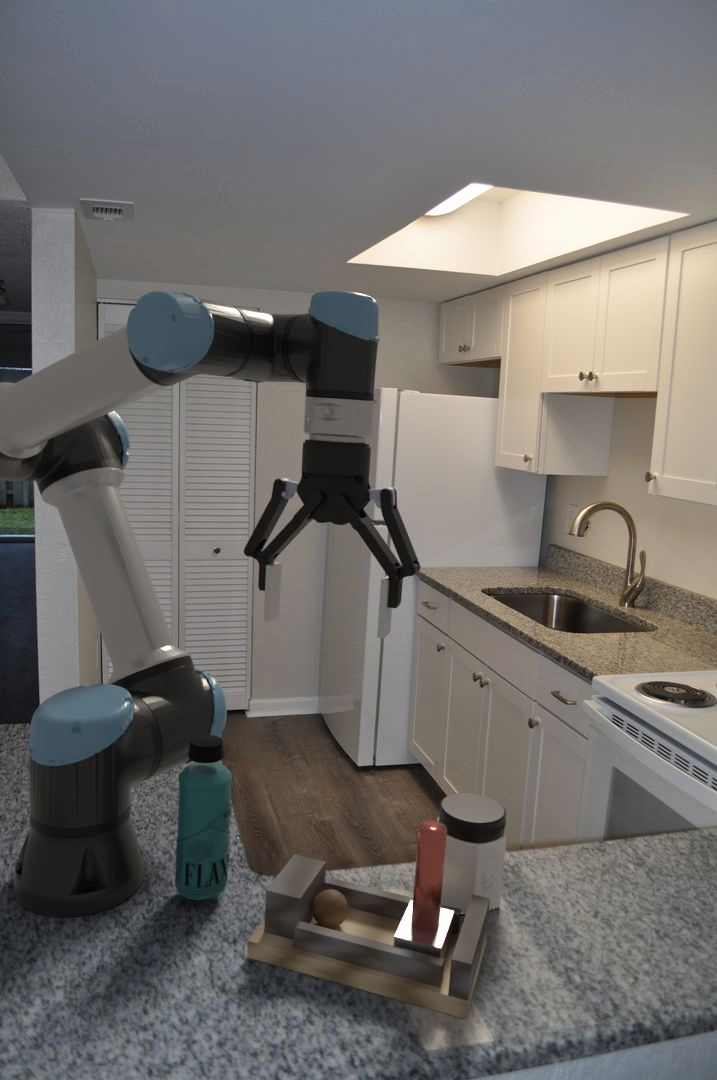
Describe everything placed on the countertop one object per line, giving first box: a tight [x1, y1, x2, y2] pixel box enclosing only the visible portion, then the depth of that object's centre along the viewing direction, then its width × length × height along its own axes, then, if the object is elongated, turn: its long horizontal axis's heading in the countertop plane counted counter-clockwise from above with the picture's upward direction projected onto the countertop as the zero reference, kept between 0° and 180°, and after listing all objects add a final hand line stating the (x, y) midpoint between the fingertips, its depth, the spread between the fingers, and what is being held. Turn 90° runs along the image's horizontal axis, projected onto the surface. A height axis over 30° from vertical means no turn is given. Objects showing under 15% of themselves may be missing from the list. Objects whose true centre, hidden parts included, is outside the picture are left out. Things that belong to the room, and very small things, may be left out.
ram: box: [394, 820, 454, 959], centre depth 87 cm, size 5×7×14 cm
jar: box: [436, 792, 507, 914], centre depth 101 cm, size 9×8×12 cm
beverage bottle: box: [173, 735, 233, 901], centre depth 97 cm, size 6×7×20 cm
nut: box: [312, 889, 348, 928], centre depth 91 cm, size 4×4×4 cm
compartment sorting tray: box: [246, 853, 490, 1020], centre depth 90 cm, size 24×12×7 cm, turn 72°
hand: (326, 627), depth 92 cm, fingers open, 13 cm apart
